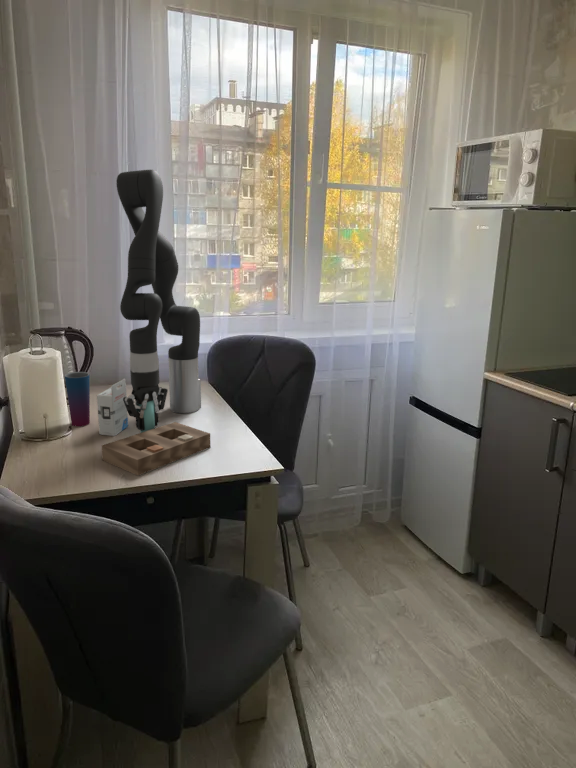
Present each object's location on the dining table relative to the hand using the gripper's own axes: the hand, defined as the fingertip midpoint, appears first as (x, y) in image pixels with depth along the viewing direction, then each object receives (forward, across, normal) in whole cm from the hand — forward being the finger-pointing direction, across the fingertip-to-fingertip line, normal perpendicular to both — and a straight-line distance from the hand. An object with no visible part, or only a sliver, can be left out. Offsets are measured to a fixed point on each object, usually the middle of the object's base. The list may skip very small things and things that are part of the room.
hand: (147, 427), depth 160 cm
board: (+3, +6, +11) cm, 13 cm away
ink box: (+3, +2, -12) cm, 13 cm away
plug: (+2, 0, 0) cm, 2 cm away
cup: (+3, +5, -24) cm, 25 cm away
